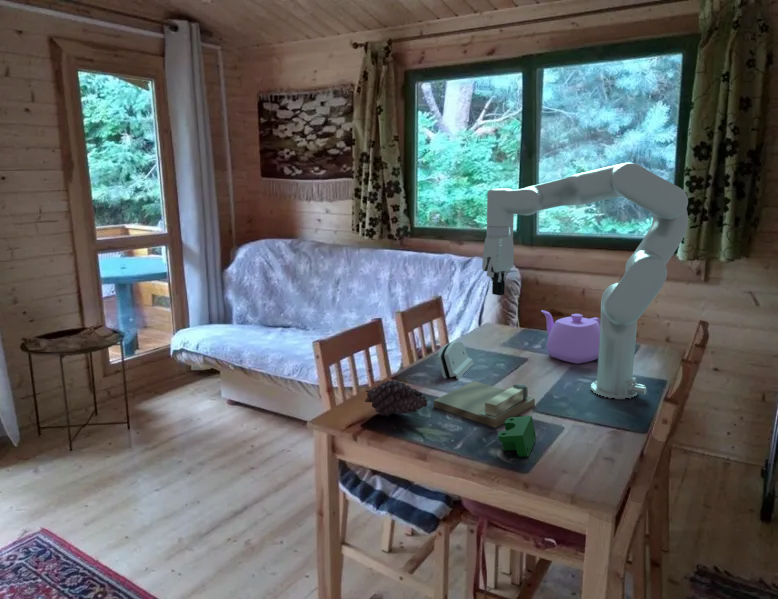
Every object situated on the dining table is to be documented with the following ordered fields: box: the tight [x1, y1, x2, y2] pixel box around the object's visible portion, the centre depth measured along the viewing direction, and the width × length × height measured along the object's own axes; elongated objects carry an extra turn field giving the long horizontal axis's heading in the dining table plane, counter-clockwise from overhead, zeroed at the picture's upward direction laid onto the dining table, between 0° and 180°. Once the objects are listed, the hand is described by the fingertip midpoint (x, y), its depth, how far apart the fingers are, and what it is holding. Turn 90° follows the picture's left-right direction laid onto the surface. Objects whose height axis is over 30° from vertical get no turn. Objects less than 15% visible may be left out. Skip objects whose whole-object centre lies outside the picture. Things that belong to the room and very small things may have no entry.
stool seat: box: [433, 380, 536, 429], centre depth 161 cm, size 20×19×2 cm
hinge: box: [437, 341, 475, 381], centre depth 188 cm, size 17×5×10 cm, turn 155°
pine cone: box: [364, 379, 428, 418], centre depth 154 cm, size 18×10×10 cm, turn 68°
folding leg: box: [485, 383, 529, 417], centre depth 155 cm, size 17×4×3 cm, turn 139°
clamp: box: [497, 415, 537, 458], centre depth 137 cm, size 12×6×9 cm, turn 151°
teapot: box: [540, 309, 601, 365], centre depth 201 cm, size 23×21×15 cm
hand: (498, 294), depth 173 cm, fingers closed
